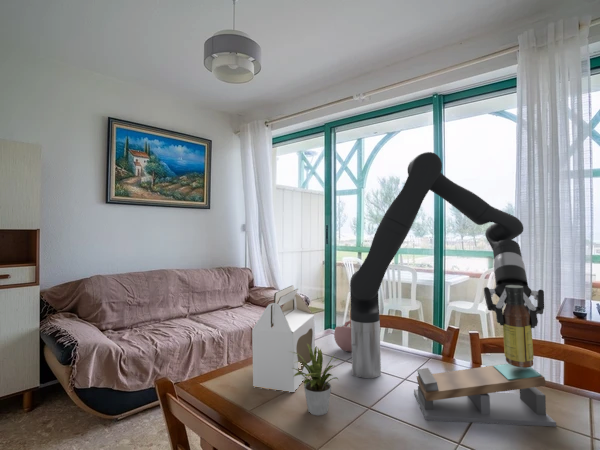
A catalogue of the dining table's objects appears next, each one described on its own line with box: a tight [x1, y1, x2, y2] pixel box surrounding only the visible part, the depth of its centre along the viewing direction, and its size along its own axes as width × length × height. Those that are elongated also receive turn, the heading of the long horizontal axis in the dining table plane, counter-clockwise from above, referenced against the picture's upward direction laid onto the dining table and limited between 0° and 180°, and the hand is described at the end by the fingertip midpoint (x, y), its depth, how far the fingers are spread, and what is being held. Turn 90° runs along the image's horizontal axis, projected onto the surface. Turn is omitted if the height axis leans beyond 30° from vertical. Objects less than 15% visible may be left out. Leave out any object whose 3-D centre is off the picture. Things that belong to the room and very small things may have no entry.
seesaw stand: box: [413, 385, 557, 427], centre depth 87 cm, size 29×14×6 cm, turn 82°
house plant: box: [292, 344, 339, 416], centre depth 89 cm, size 14×14×16 cm
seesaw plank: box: [416, 363, 547, 401], centre depth 87 cm, size 28×10×4 cm, turn 82°
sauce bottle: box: [502, 285, 534, 368], centre depth 86 cm, size 6×6×20 cm
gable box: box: [251, 285, 316, 393], centre depth 110 cm, size 22×13×28 cm, turn 161°
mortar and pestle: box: [333, 319, 352, 353], centre depth 131 cm, size 12×12×11 cm
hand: (517, 325), depth 85 cm, fingers closed on sauce bottle, 6 cm apart
